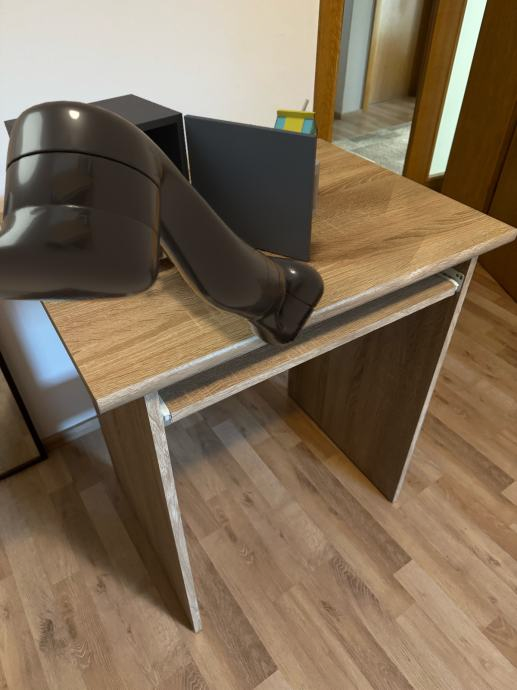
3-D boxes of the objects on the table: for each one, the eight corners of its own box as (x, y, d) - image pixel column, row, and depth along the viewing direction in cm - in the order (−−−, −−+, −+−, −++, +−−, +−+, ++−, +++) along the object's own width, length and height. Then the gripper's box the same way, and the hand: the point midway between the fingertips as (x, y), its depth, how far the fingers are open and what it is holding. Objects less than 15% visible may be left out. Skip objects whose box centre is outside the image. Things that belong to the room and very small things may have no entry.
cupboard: (195, 230, 90) (182, 112, 77) (83, 274, 79) (45, 147, 66) (150, 202, 99) (131, 93, 86) (43, 239, 88) (3, 121, 75)
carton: (316, 193, 101) (322, 99, 90) (306, 209, 96) (311, 111, 84) (281, 189, 103) (283, 96, 91) (270, 204, 98) (270, 108, 86)
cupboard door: (214, 218, 93) (205, 105, 80) (322, 245, 85) (332, 124, 72) (196, 232, 89) (183, 115, 76) (307, 261, 81) (314, 136, 68)
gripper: (242, 211, 69) (177, 177, 79) (155, 245, 62) (95, 204, 72) (244, 257, 74) (182, 220, 84) (164, 293, 67) (107, 249, 77)
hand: (142, 213), depth 78 cm, fingers closed on pill bottle, 6 cm apart
